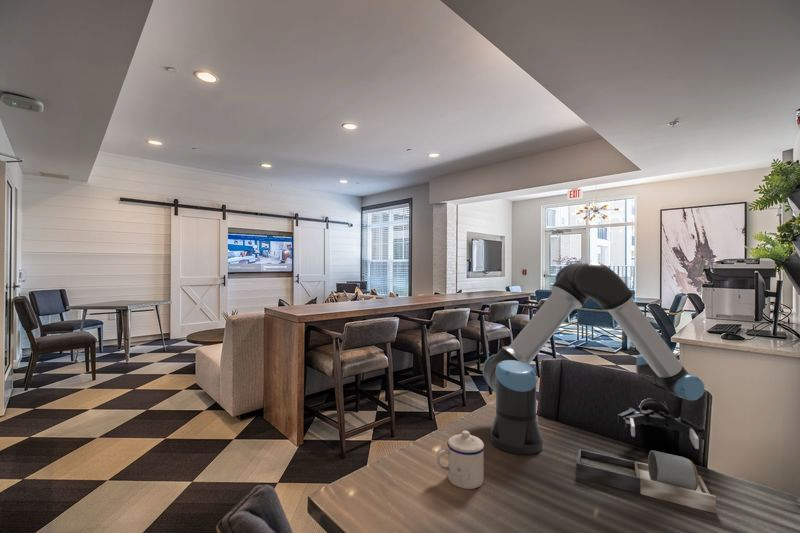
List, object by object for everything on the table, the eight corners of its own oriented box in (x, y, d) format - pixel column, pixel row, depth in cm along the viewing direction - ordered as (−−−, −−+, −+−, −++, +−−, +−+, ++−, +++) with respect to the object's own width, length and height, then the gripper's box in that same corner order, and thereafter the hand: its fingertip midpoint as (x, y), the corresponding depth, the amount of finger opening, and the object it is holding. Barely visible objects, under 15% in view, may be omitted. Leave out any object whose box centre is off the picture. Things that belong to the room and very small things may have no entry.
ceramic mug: (700, 501, 78) (701, 468, 78) (656, 493, 81) (657, 461, 80) (680, 471, 88) (681, 442, 88) (642, 465, 91) (643, 437, 90)
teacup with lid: (477, 468, 92) (477, 423, 92) (489, 489, 83) (489, 439, 83) (432, 470, 90) (432, 425, 91) (440, 492, 81) (440, 441, 82)
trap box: (576, 477, 88) (576, 463, 88) (578, 454, 99) (578, 441, 99) (716, 513, 75) (716, 497, 75) (700, 482, 86) (700, 467, 86)
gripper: (704, 431, 105) (726, 464, 86) (608, 414, 117) (609, 440, 99) (704, 406, 105) (726, 433, 87) (608, 392, 117) (609, 413, 99)
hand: (663, 437), depth 93 cm, fingers open, 13 cm apart
